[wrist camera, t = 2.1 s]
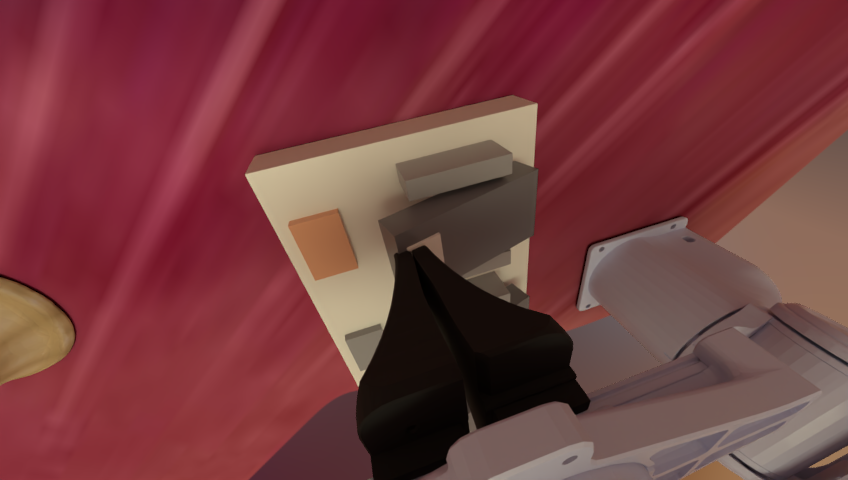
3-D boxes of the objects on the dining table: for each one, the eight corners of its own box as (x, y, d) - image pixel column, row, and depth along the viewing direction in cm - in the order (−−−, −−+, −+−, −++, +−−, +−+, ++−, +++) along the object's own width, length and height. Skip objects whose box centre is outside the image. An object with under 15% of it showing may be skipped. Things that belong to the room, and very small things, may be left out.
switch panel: (512, 94, 17) (565, 112, 13) (508, 365, 33) (532, 408, 29) (254, 156, 15) (233, 196, 12) (381, 411, 31) (389, 463, 27)
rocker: (514, 160, 16) (540, 169, 15) (512, 223, 19) (535, 236, 17) (377, 220, 13) (395, 238, 12) (396, 285, 16) (413, 306, 14)
